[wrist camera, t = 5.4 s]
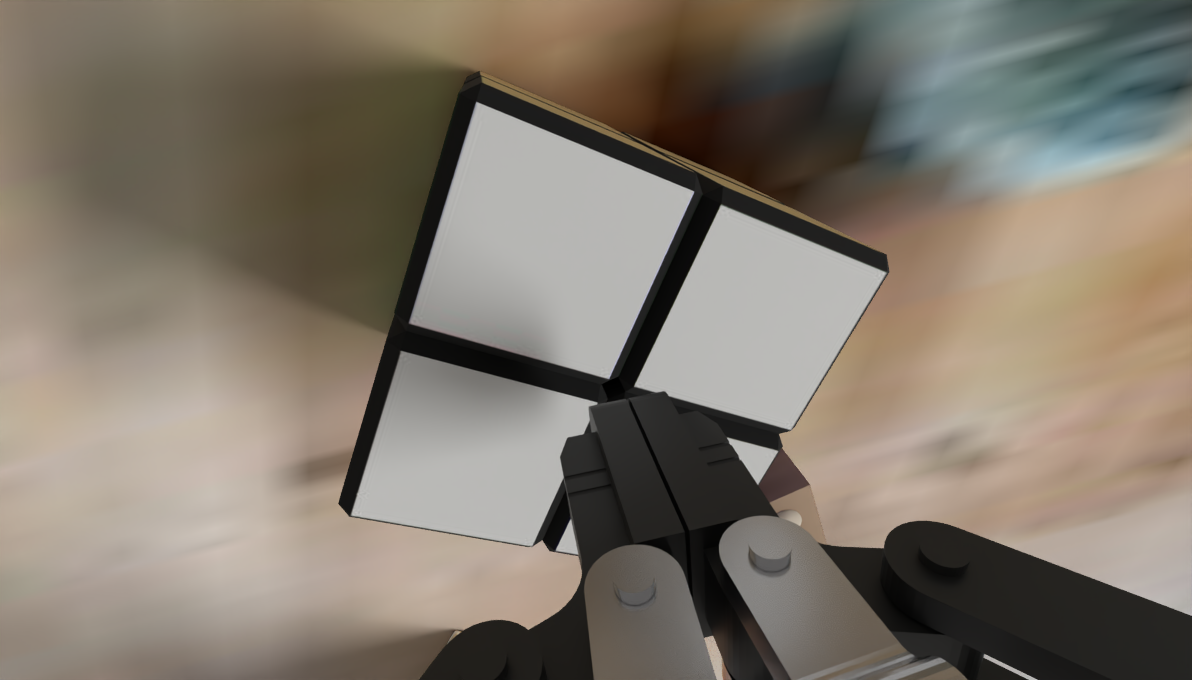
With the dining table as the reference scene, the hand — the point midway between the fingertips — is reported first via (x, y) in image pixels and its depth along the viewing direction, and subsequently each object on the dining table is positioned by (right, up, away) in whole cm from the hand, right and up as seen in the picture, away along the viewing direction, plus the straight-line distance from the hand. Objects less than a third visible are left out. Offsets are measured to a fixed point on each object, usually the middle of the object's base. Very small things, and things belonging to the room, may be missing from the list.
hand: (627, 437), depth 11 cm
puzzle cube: (-2, +5, +11) cm, 12 cm away
